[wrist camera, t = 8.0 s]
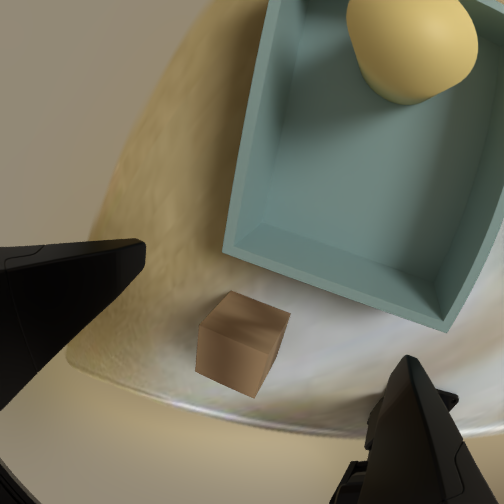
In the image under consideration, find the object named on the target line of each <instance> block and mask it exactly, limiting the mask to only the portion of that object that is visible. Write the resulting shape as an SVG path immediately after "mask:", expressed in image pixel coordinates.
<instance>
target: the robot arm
mask: <svg viewBox="0 0 504 504" xmlns="http://www.w3.org/2000/svg"><path fill="white" fill-rule="evenodd" d="M145 258H146V244H145V243H144V242H143V241H141V240H139V239H136V238H131V239H116V240H101V241H87V242H74V243H60V244H48V245H36V246H18V247H0V411H1V410H2V409H3V408H4V407H5V406H6V405H7V404H8V403H9V402H10V401H11V400H12V399H13V398H14V397H15V396H16V395H17V394H18V393H19V391H20V390H22V389H23V387H24V386H25V385H26V384H27V383H28V382H29V381H30V380H31V379H32V378H33V377H34V376H35V375H36V374H37V372H39V371H40V370H41V369H42V368H43V367H44V366H45V365H46V364H47V363H48V362H49V361H50V360H51V359H52V358H53V357H54V356H55V355H56V354H57V353H58V352H59V351H60V350H61V349H62V348H63V347H65V346H66V345H67V344H68V343H69V342H70V341H71V340H72V339H73V338H74V337H75V336H76V335H77V334H78V333H79V332H80V331H81V330H82V329H83V328H85V327H86V326H87V325H88V324H89V323H90V322H91V321H92V320H93V319H94V318H95V317H96V316H97V315H99V314H100V313H101V312H102V311H103V310H104V309H105V308H106V307H107V306H108V305H110V304H111V303H112V302H113V301H114V300H115V299H116V298H117V297H118V296H119V295H120V294H121V293H122V292H123V291H124V290H125V288H126V287H127V286H128V285H129V284H130V283H131V282H132V281H133V280H134V279H135V277H136V276H137V275H138V274H139V273H140V272H141V271H142V270H143V268H144V266H145ZM458 401H459V398H458V395H456V394H452V393H449V392H445V391H442V390H438V389H435V387H434V385H433V384H432V382H431V380H430V378H429V377H428V375H427V373H426V372H425V370H424V368H423V367H422V365H421V363H420V362H419V360H418V359H417V358H415V357H412V356H410V355H405V356H404V357H403V358H402V359H401V361H400V362H399V363H398V365H397V366H396V368H395V369H394V370H393V372H392V373H391V375H390V378H389V381H388V385H387V388H386V392H385V396H384V397H383V398H382V399H381V400H380V401H379V403H378V404H377V405H376V407H375V408H374V409H373V410H372V412H371V413H370V417H369V418H368V421H367V424H368V430H367V435H366V441H365V446H364V447H365V449H366V450H369V454H368V459H367V461H360V462H358V461H351V462H350V464H349V466H348V468H347V470H346V472H345V474H344V476H343V478H342V480H341V482H340V483H339V485H338V487H337V489H336V491H335V493H334V494H333V496H332V498H331V500H330V502H329V504H498V502H497V500H496V498H495V496H494V495H493V493H492V491H491V489H490V488H489V486H488V484H487V482H486V481H485V479H484V477H483V475H482V474H481V472H480V470H479V468H478V467H477V465H476V463H475V461H474V459H473V457H472V455H471V453H470V452H469V450H468V448H467V446H466V444H465V442H464V441H463V438H462V436H461V434H460V432H459V430H458V428H457V426H456V425H455V423H454V421H453V419H452V417H451V415H450V413H449V412H450V411H451V409H452V408H453V407H454V406H455V405H456V404H457V403H458ZM0 504H41V503H40V502H39V501H38V500H37V499H36V498H35V497H34V496H33V495H32V494H31V493H30V492H29V490H28V489H27V488H26V487H25V486H24V485H23V484H22V483H21V482H20V481H19V480H18V478H17V477H16V476H15V475H14V474H13V473H12V472H11V470H10V469H9V468H8V467H7V466H6V465H5V463H4V462H3V461H2V459H1V458H0Z"/></svg>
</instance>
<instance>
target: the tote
mask: <svg viewBox="0 0 504 504" xmlns="http://www.w3.org/2000/svg"><path fill="white" fill-rule="evenodd" d="M349 1H350V0H269V3H268V8H267V12H266V17H265V21H264V26H263V30H262V35H261V40H260V45H259V49H258V54H257V59H256V64H255V69H254V74H253V79H252V84H251V89H250V94H249V99H248V104H247V110H246V115H245V120H244V126H243V131H242V136H241V142H240V147H239V153H238V159H237V164H236V170H235V176H234V181H233V187H232V193H231V199H230V205H229V211H228V217H227V223H226V230H225V236H224V242H223V249H222V253H225V254H228V255H230V256H233V257H236V258H239V259H241V260H244V261H247V262H249V263H252V264H255V265H257V266H260V267H263V268H266V269H268V270H271V271H274V272H277V273H279V274H282V275H285V276H287V277H290V278H293V279H296V280H298V281H301V282H304V283H307V284H309V285H312V286H315V287H318V288H320V289H323V290H326V291H329V292H332V293H334V294H337V295H340V296H343V297H345V298H348V299H351V300H354V301H357V302H359V303H362V304H365V305H368V306H371V307H373V308H376V309H379V310H382V311H385V312H387V313H390V314H393V315H396V316H399V317H402V318H404V319H407V320H410V321H413V322H416V323H419V324H422V325H424V326H427V327H430V328H433V329H436V330H439V331H442V332H444V333H447V332H448V331H449V329H450V327H451V326H452V324H453V322H454V321H455V319H456V317H457V316H458V314H459V312H460V310H461V309H462V307H463V305H464V303H465V301H466V299H467V298H468V296H469V294H470V292H471V290H472V288H473V286H474V284H475V282H476V280H477V278H478V276H479V274H480V272H481V270H482V268H483V266H484V264H485V262H486V259H487V257H488V255H489V253H490V250H491V248H492V246H493V243H494V241H495V239H496V236H497V234H498V231H499V229H500V226H501V224H502V221H503V218H504V5H503V4H501V3H499V2H497V1H495V0H458V1H459V2H460V3H461V4H462V6H463V7H464V8H465V10H466V11H467V13H468V14H469V16H470V18H471V20H472V22H473V24H474V27H475V30H476V34H477V39H478V54H477V59H476V62H475V64H474V67H473V68H472V70H471V72H470V73H469V74H468V75H467V77H466V78H464V79H463V80H462V81H461V82H459V83H458V84H456V85H454V86H452V87H450V88H449V89H447V90H445V91H443V92H441V93H439V94H437V95H435V96H433V97H432V98H430V99H428V100H426V101H424V102H422V103H419V104H414V105H402V104H396V103H393V102H390V101H388V100H386V99H384V98H382V97H381V96H379V95H378V94H377V93H375V92H374V91H373V90H372V89H371V88H370V87H369V85H368V84H367V83H366V81H365V80H364V78H363V76H362V74H361V71H360V68H359V65H358V61H357V58H356V54H355V51H354V48H353V45H352V42H351V39H350V36H349V33H348V28H347V21H346V14H347V7H348V3H349Z"/></svg>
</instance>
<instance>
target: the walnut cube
mask: <svg viewBox="0 0 504 504" xmlns="http://www.w3.org/2000/svg"><path fill="white" fill-rule="evenodd" d="M290 314H291V313H288V312H285V311H283V310H280V309H277V308H275V307H272V306H269V305H267V304H264V303H262V302H259V301H256V300H254V299H251V298H249V297H246V296H244V295H241V294H239V293H236V292H233V291H230V292H229V293H228V294H227V295H226V297H225V298H224V299H223V300H222V301H221V302H220V303H219V304H218V305H217V306H216V307H215V308H214V309H213V311H212V312H211V313H210V314H209V315H208V316H207V317H206V318H205V319H204V320H203V321H202V322H201V323H200V324H199V333H198V344H197V355H196V368H195V372H197V373H199V374H201V375H203V376H205V377H208V378H210V379H212V380H214V381H216V382H218V383H220V384H222V385H225V386H227V387H229V388H231V389H233V390H236V391H238V392H240V393H242V394H245V395H247V396H249V397H252V398H255V396H256V395H257V393H258V391H259V389H260V387H261V385H262V384H263V382H264V380H265V378H266V376H267V374H268V372H269V370H270V369H271V367H272V365H273V363H274V361H275V359H276V357H277V354H278V351H279V348H280V345H281V342H282V339H283V336H284V333H285V330H286V327H287V324H288V320H289V317H290Z"/></svg>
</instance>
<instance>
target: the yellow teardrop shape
mask: <svg viewBox="0 0 504 504" xmlns="http://www.w3.org/2000/svg"><path fill="white" fill-rule="evenodd" d="M346 21H347V28H348V33H349V36H350V39H351V42H352V45H353V48H354V51H355V54H356V58H357V61H358V65H359V68H360V71H361V74H362V76H363V78H364V80H365V81H366V83H367V84H368V85H369V87H370V88H371V89H372V90H373V91H374V92H375V93H377V94H378V95H379V96H381V97H382V98H384V99H386V100H388V101H390V102H393V103H396V104H402V105H414V104H419V103H422V102H424V101H426V100H428V99H430V98H432V97H433V96H435V95H437V94H439V93H441V92H443V91H445V90H447V89H449V88H450V87H452V86H454V85H456V84H458V83H459V82H461V81H462V80H463V79H464V78H466V77H467V75H468V74H469V73H470V72H471V70H472V68H473V67H474V64H475V62H476V59H477V54H478V39H477V34H476V30H475V27H474V24H473V22H472V20H471V18H470V16H469V14H468V13H467V11H466V10H465V8H464V7H463V6H462V4H461V3H460V2H459V1H458V0H350V1H349V3H348V7H347V14H346Z"/></svg>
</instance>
